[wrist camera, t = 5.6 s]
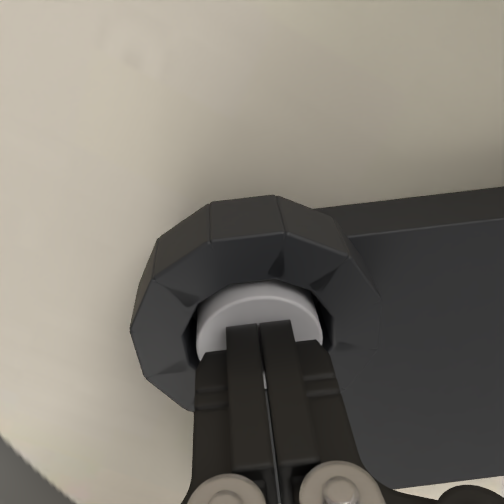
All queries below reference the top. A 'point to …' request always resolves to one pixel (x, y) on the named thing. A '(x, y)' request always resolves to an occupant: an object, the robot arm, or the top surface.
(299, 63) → the top surface
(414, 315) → the scale
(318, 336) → the button
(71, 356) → the top surface
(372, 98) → the top surface
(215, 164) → the top surface
